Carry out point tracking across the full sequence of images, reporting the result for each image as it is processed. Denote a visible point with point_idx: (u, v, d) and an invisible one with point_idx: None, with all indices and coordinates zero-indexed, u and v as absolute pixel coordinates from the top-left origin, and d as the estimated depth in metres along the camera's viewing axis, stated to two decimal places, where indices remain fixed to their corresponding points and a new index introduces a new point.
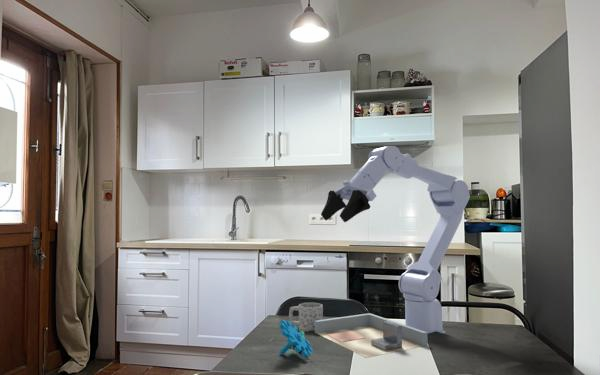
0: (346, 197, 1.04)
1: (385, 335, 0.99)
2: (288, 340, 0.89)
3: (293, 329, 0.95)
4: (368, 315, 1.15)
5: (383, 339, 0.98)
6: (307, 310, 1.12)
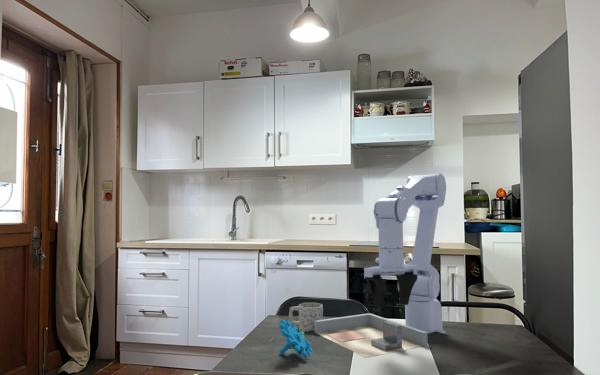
0: None
1: (385, 335, 0.99)
2: (287, 340, 0.89)
3: (293, 329, 0.95)
4: (368, 315, 1.15)
5: (383, 339, 0.98)
6: (307, 310, 1.12)
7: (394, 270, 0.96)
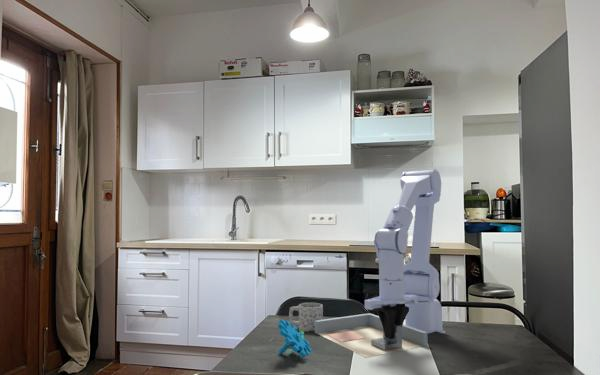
0: None
1: None
2: (286, 340, 0.89)
3: (292, 329, 0.95)
4: (368, 315, 1.15)
5: (383, 339, 0.98)
6: (307, 310, 1.12)
7: (395, 302, 0.95)
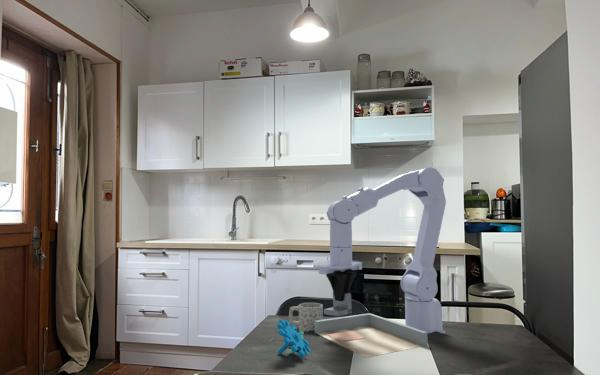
0: None
1: (336, 304, 1.07)
2: (284, 340, 0.89)
3: (291, 329, 0.95)
4: (368, 315, 1.15)
5: (334, 308, 1.06)
6: (307, 310, 1.12)
7: (345, 267, 1.05)
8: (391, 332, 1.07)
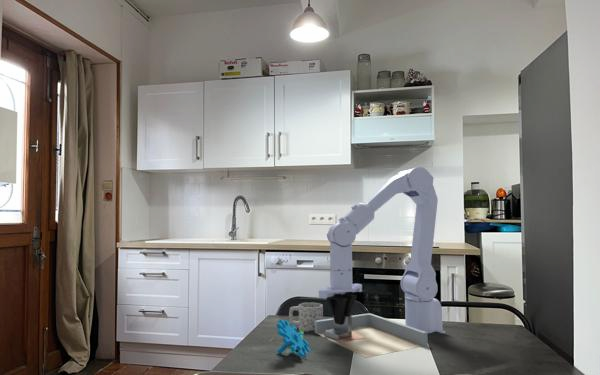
0: None
1: (336, 325, 1.07)
2: (283, 339, 0.89)
3: (291, 329, 0.96)
4: (368, 315, 1.15)
5: (334, 330, 1.06)
6: (307, 310, 1.12)
7: (345, 290, 1.04)
8: (391, 332, 1.07)
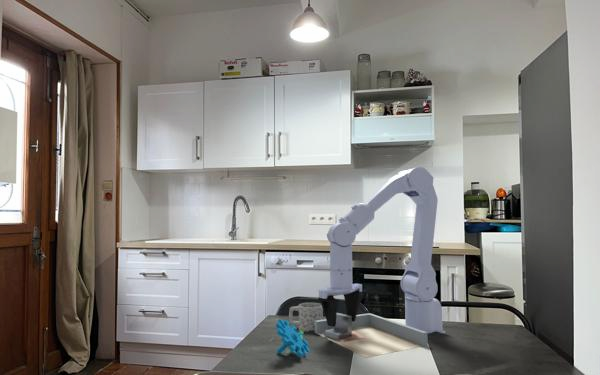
0: None
1: (336, 325, 1.07)
2: (282, 339, 0.90)
3: (290, 329, 0.96)
4: (368, 315, 1.15)
5: (334, 330, 1.06)
6: (307, 310, 1.12)
7: (345, 291, 1.04)
8: (391, 332, 1.07)
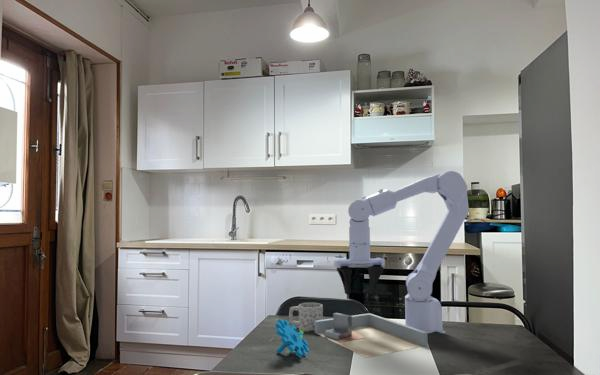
0: (354, 266, 1.15)
1: (336, 325, 1.07)
2: (282, 339, 0.90)
3: (290, 328, 0.96)
4: (368, 315, 1.15)
5: (334, 330, 1.06)
6: (307, 310, 1.12)
7: (359, 262, 1.12)
8: (391, 332, 1.07)
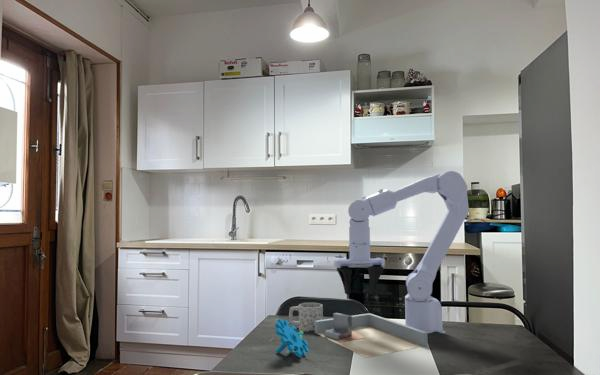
0: (354, 266, 1.15)
1: (336, 325, 1.07)
2: (281, 339, 0.90)
3: (290, 328, 0.96)
4: (368, 315, 1.15)
5: (334, 330, 1.06)
6: (307, 310, 1.12)
7: (359, 262, 1.12)
8: (391, 332, 1.07)
